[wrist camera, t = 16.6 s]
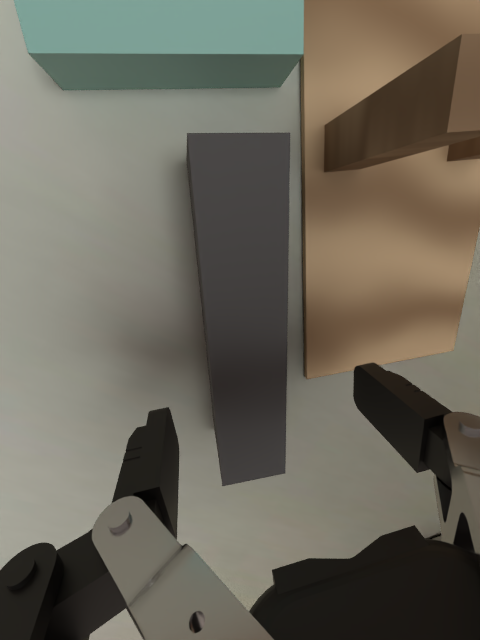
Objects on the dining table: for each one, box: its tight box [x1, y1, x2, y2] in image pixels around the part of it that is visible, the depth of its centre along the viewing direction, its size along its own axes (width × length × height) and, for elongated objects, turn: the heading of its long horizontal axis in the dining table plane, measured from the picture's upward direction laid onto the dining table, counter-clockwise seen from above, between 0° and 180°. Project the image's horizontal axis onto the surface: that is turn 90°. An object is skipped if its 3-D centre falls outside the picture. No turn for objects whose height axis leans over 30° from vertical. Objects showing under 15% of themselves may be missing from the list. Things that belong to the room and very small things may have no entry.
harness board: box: [300, 0, 480, 379], centre depth 12 cm, size 20×11×7 cm, turn 5°
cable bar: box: [187, 133, 290, 486], centre depth 14 cm, size 16×4×4 cm, turn 3°
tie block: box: [14, 0, 304, 90], centre depth 10 cm, size 4×9×3 cm, turn 94°
